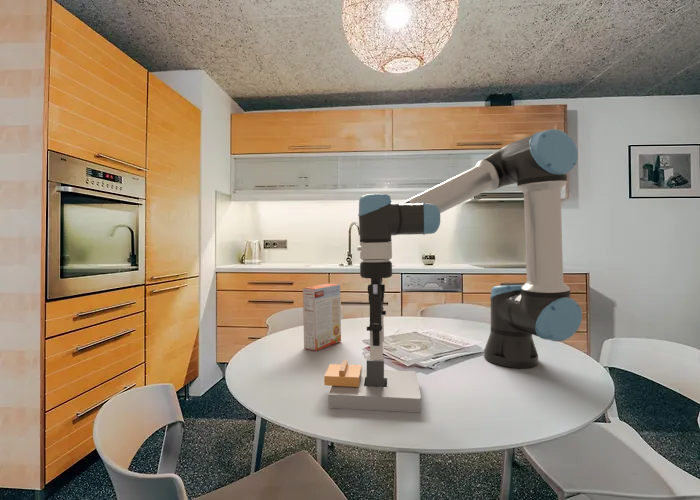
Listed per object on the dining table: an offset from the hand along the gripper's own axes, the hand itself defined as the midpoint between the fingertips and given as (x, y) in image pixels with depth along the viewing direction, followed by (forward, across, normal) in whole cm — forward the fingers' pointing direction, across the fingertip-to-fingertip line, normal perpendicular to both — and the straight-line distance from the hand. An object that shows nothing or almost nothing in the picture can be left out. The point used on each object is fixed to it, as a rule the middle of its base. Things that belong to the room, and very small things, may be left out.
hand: (377, 349), depth 87 cm
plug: (+11, +1, -1) cm, 11 cm away
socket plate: (+11, 0, -1) cm, 11 cm away
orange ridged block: (+7, 0, -8) cm, 11 cm away
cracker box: (+11, -38, -21) cm, 44 cm away
